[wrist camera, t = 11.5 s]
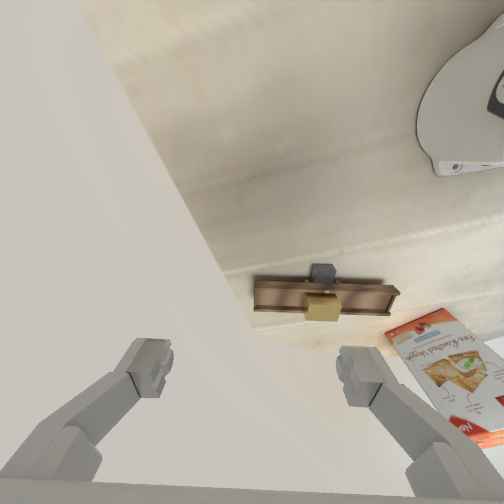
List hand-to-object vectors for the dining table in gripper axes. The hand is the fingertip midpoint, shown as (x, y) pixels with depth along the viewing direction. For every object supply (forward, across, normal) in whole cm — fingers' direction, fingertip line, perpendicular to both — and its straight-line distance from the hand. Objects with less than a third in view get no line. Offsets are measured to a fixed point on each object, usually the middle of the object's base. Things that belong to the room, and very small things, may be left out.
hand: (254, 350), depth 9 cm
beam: (+27, -14, +18) cm, 35 cm away
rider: (+25, -13, +18) cm, 34 cm away
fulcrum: (+29, -14, +18) cm, 37 cm away
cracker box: (+29, -40, +29) cm, 58 cm away
